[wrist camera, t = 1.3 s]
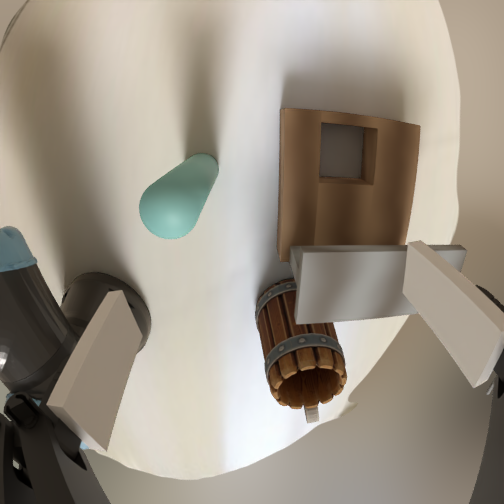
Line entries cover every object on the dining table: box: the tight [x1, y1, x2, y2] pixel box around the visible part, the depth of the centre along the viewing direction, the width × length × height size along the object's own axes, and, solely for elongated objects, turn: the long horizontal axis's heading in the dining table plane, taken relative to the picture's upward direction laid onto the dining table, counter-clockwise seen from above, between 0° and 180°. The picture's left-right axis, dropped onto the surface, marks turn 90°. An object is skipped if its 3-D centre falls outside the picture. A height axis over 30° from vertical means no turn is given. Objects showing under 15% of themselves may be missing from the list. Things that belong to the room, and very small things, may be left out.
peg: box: [139, 153, 219, 239], centre depth 25 cm, size 4×4×16 cm
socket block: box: [277, 108, 467, 324], centre depth 27 cm, size 16×17×15 cm
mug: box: [255, 279, 347, 423], centre depth 35 cm, size 16×11×15 cm
